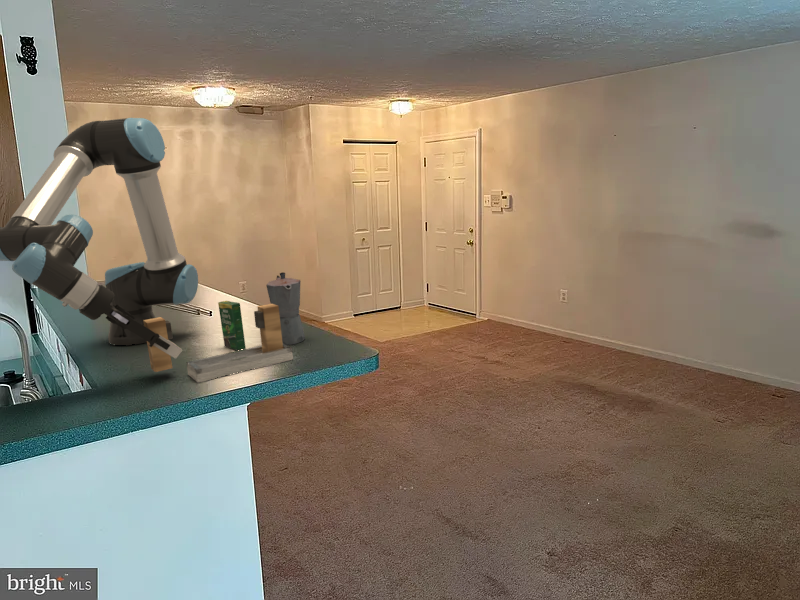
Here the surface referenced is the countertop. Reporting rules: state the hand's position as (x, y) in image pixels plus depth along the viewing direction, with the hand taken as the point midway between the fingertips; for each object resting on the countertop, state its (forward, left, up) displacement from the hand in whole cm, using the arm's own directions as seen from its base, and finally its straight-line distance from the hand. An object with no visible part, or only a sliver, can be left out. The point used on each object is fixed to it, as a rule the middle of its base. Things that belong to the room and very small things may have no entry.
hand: (176, 351), depth 141 cm
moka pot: (-7, +32, -6) cm, 34 cm away
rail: (+7, +13, -6) cm, 16 cm away
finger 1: (0, -4, -3) cm, 5 cm away
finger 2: (+7, +22, -4) cm, 23 cm away
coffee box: (-12, +18, -6) cm, 23 cm away
